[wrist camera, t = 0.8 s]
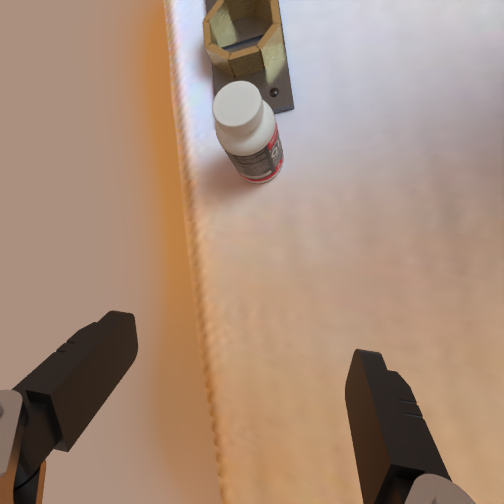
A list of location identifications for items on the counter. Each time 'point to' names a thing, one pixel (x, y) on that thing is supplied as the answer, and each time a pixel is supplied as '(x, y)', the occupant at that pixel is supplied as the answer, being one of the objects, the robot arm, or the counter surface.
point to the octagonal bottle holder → (249, 48)
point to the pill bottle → (248, 131)
